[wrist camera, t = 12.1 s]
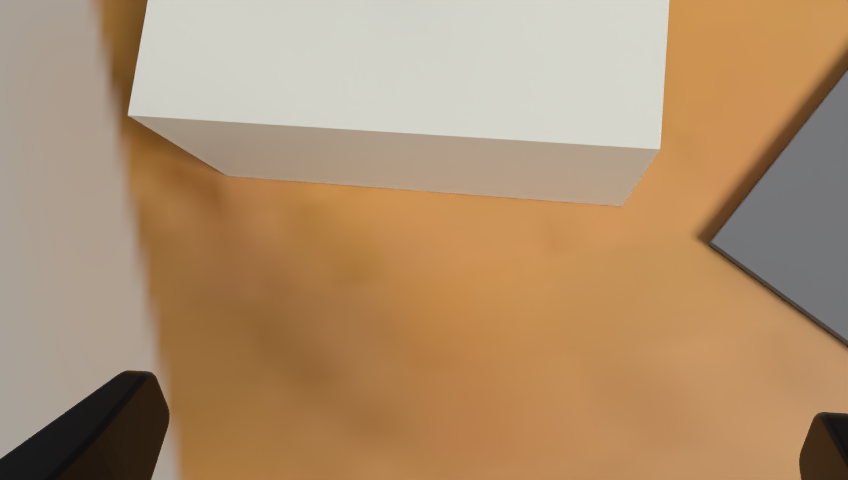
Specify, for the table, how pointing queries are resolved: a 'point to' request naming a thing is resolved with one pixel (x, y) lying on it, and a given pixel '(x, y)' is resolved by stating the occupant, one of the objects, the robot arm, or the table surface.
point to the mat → (801, 219)
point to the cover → (412, 92)
